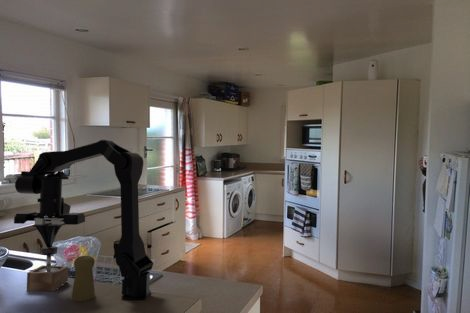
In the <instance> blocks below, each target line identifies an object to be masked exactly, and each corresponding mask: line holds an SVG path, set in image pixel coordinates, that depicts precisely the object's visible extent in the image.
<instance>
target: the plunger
mask: <svg viewBox="0 0 470 313" xmlns="http://www.w3.org/2000/svg"><path fill="white" fill-rule="evenodd" d="M56 254H58V246H54V245H52V247H51V248H47V246H43V247H40V255H42V256H46V262H45V263H46V265H45V266H46V268H45V269H41V270H39V271H38V272H46V273H54V272H56V271H58V270H59V269H58V268H51V266H52V255H56Z"/></svg>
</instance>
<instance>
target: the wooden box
mask: <svg viewBox="0 0 470 313" xmlns="http://www.w3.org/2000/svg"><path fill="white" fill-rule="evenodd" d="M45 268H46V265H40V266H38V267H36V268H34V269H33V270H30V271H28V272H27V273H26V291H29V292H31V291H32V292H33V291H34V292H56V291H57V290H58V289H57V288H59V287H60V286H61V285H62V284H64V283H65V282H66V281H68V282H69V280H68V279H69V266H68V265H51V268H58V269H59V270H58V271H56V272H54V273H46V272H38V271H39V270H41V269H45ZM60 288H61V287H60ZM60 288H59V289H60ZM56 289H57V290H56ZM55 290H56V291H55Z"/></svg>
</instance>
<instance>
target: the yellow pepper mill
mask: <svg viewBox="0 0 470 313" xmlns="http://www.w3.org/2000/svg"><path fill="white" fill-rule="evenodd" d="M94 265H95V259H94V257H93V256H91V255H82V256H81V255H80V256H78V257H76V258H75V259H74V262H73V266H74V269H75V274H74V281H73V286H72V291H71V292H72V293H71V301H74V302H86V301H89V300H92V299H95V297H96V293H95V290H96V289H95V281H94V274H93V272H94V271H93V268H94Z"/></svg>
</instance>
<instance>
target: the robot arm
mask: <svg viewBox="0 0 470 313" xmlns="http://www.w3.org/2000/svg"><path fill="white" fill-rule="evenodd" d="M101 156H103V157H104V159H105V160H106V161H107V162H109V163H111V164H112V165H113V168H114V175H115V177H116V179H117V180H118V182H119V186H120V188H119V190H120V226H121V229H120V232H121V235H120V239H119V241H117V242H114V243H113V252H114V254H113V259H115V264H116V266H118V268H119V272H120V275H121V278H123V279H122V280H121V295H122V296H121V300H146V299H147V298H148V297H149V295H150V294H151V289H150V271H151V270H152V269H153V266H154V262H153V261H152V260H151V258H150V256H148V255H147V253H146V248H145V242H144V241H143V239H142V237H141V235H140V222H139V221H140V216H139V214H140V213H139V211H140V210H139V209H140V208H139V182H140V180H141V178H142V175H143V170H144V159H143V157H142V156H141V155H140V154H139V153H137V152H131V151H130V150H128V149H127V148H124V147H122V146H120V145H119V144H118V143H115V142H114V141H112V140H107V139H100V140H99V141H96V142H92V143H88V144H85V145H82V146H78V147H74V148H70V149H67V150H60V151H58V150H57V151H56V150H55V151H44V152H41V153H40V154H39V155H38V158H37V160H36V161H35V163H34V164H33V166H32V168H30V169H29V170H22V171H21V172H20V175H19V176H18V177H17V179H16V181H15V183H14V186H15V190H16V191H17V192H18V193H19V194H28V195H39V194H40V195H39V198H37V203H39V212H36V211H24V212H23V211H22V212H19V213H18V212H17V213H15V215H14V216H13V224H19V225H23V224H26V222H34V224H33V225H32V227H34V228H36V230H37V231H38V232H39V235H40V236H41V238H42V240H43V242H44V244H45V247H47V248H51V247H52V246H54V245H53V244H54V242H55V239H56V236H57V235H58V232H59V231H60V229H61V228H62V226H66V225H71V226H72V225H80V224H83V223H86V216H85V214H84V213H83V212H70V211H71V205H70V204H68V203H66V202H65V198H64V197H63V196H62V195H63V194H62V191H63V188H62V187H63V180H69V176H68V175H67V174H66V173H65V172H64V171H65V170H66V169H68V168H70V167H71V166H72V165H74V164H76V163H77V164H78V163H81V162H83V161H84V162H85V161H87V160H90V159H94V158H98V157H101Z"/></svg>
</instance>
